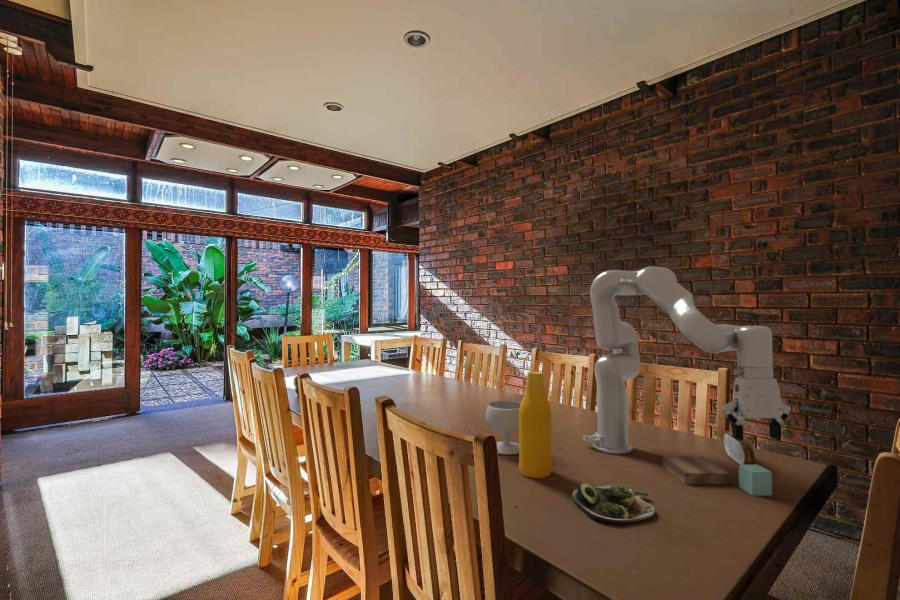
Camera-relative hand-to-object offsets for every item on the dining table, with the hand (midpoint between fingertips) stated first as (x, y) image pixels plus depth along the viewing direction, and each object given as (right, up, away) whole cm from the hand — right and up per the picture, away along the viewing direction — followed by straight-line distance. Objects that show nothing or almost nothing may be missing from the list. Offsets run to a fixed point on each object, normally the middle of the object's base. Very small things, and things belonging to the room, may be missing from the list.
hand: (756, 439), depth 109 cm
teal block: (0, -14, 0) cm, 14 cm away
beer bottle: (-55, -14, +13) cm, 58 cm away
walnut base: (-10, -14, +10) cm, 20 cm away
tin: (+9, -14, +20) cm, 26 cm away
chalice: (-61, -14, +32) cm, 70 cm away
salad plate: (-41, -14, -7) cm, 44 cm away
